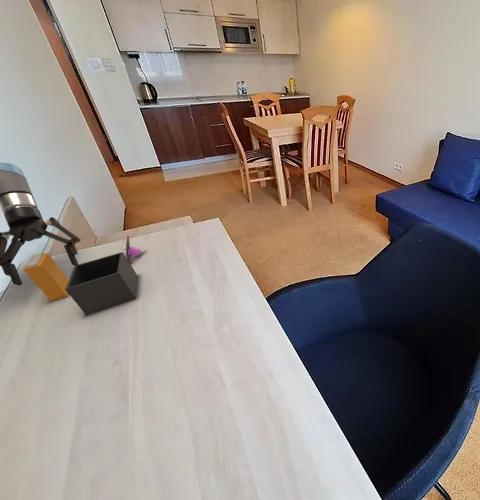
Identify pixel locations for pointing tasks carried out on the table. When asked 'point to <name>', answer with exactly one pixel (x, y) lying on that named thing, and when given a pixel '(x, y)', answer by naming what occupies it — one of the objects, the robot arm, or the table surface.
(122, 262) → the bin
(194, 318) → the table surface
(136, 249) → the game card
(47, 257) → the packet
